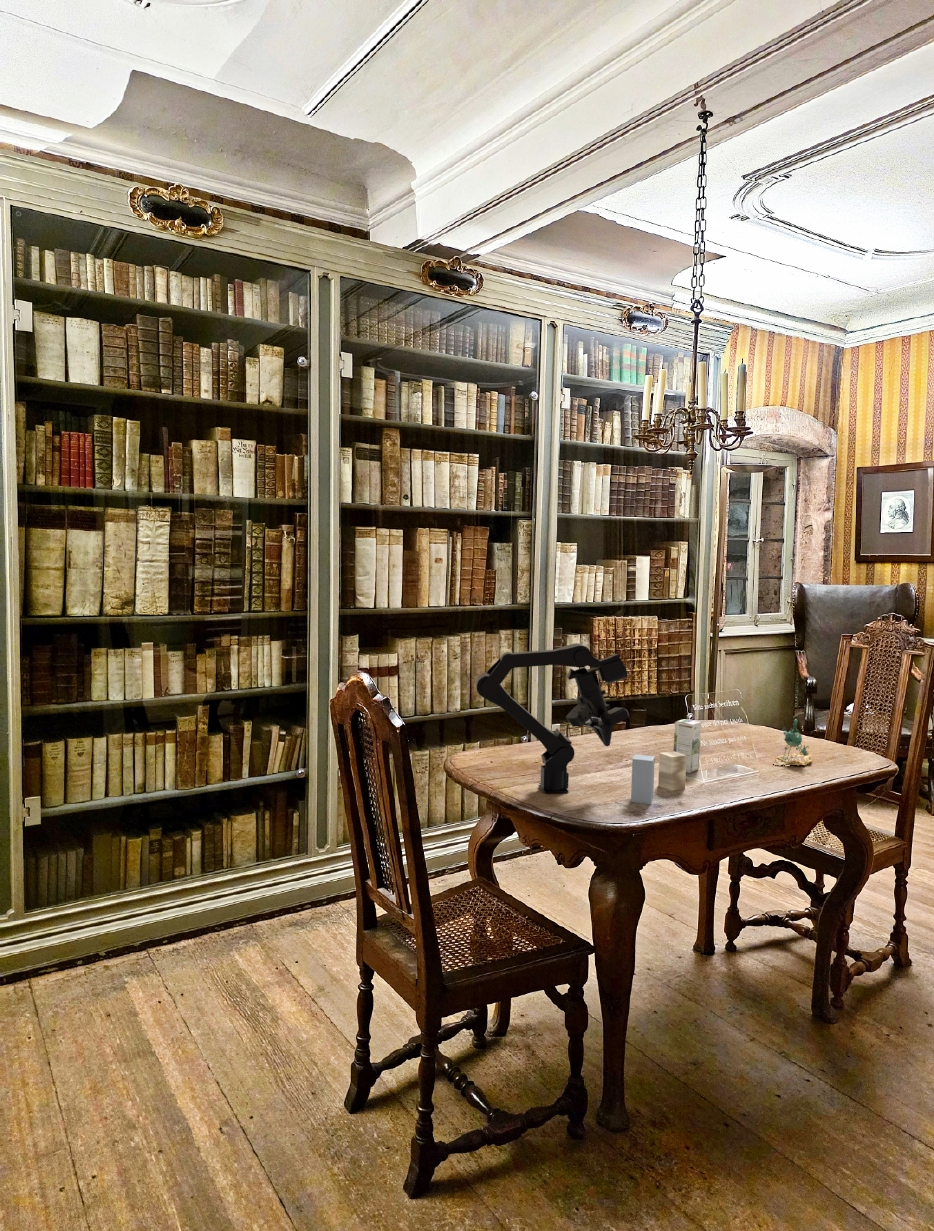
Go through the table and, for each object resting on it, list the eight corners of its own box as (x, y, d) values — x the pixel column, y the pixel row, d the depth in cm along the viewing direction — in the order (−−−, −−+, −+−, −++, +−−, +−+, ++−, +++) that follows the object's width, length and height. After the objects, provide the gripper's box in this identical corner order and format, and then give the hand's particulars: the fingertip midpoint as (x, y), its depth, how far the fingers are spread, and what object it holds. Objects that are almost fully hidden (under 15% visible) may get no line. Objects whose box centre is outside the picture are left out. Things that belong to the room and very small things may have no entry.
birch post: (670, 790, 216) (671, 757, 215) (658, 785, 220) (659, 752, 219) (685, 788, 218) (686, 755, 217) (672, 783, 222) (673, 751, 222)
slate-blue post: (630, 801, 205) (632, 758, 204) (633, 796, 209) (634, 754, 209) (651, 804, 203) (652, 760, 202) (653, 798, 208) (654, 756, 207)
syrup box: (680, 766, 241) (682, 718, 240) (699, 770, 237) (701, 721, 236) (672, 770, 237) (674, 721, 236) (691, 773, 233) (693, 723, 232)
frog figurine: (828, 764, 248) (828, 717, 246) (786, 776, 240) (785, 728, 238) (803, 756, 257) (802, 711, 255) (761, 768, 249) (760, 721, 247)
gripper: (546, 700, 217) (563, 755, 218) (587, 701, 200) (606, 760, 201) (578, 685, 222) (595, 739, 223) (621, 686, 205) (639, 743, 206)
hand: (607, 745), depth 213 cm, fingers closed
